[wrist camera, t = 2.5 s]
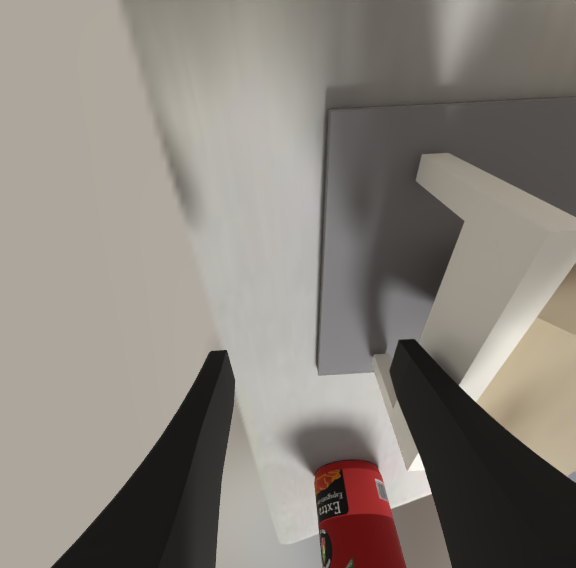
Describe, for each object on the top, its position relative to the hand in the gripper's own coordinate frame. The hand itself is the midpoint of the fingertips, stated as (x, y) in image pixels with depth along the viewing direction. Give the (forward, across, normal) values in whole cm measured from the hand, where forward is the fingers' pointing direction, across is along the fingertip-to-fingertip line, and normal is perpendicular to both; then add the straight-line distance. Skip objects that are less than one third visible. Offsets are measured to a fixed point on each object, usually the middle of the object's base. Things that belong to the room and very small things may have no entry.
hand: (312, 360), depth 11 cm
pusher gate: (+5, -5, 0) cm, 7 cm away
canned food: (+5, -5, +29) cm, 30 cm away
